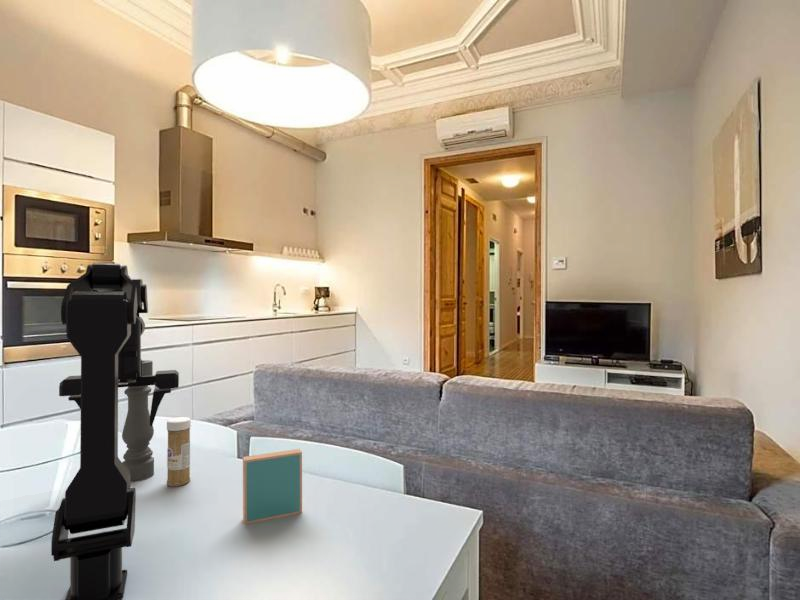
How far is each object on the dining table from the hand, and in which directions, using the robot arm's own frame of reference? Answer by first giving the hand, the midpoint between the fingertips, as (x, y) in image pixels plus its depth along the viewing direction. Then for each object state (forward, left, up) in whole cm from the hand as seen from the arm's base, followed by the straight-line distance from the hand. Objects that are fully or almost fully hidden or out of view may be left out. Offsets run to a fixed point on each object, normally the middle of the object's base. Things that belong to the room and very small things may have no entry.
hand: (123, 428), depth 86 cm
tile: (-16, -24, -9) cm, 31 cm away
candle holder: (+16, -1, -15) cm, 22 cm away
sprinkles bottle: (+8, -9, -15) cm, 19 cm away
